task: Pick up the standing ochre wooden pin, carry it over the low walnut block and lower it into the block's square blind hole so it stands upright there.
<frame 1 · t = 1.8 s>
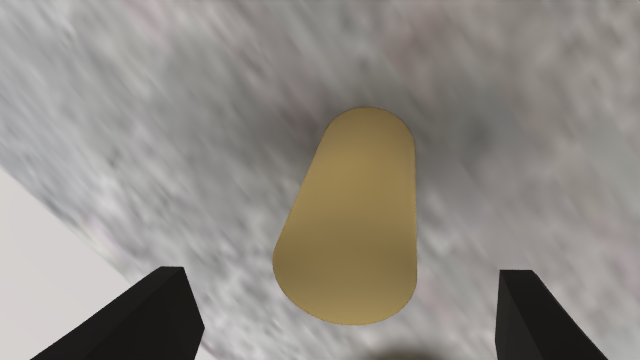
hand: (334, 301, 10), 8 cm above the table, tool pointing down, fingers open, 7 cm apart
pin: (367, 151, 17), on the table
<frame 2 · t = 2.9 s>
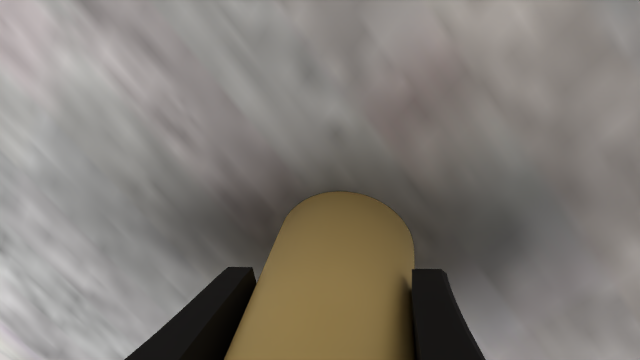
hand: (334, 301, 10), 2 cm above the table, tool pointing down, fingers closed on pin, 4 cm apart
pin: (345, 249, 12), on the table, touching gripper
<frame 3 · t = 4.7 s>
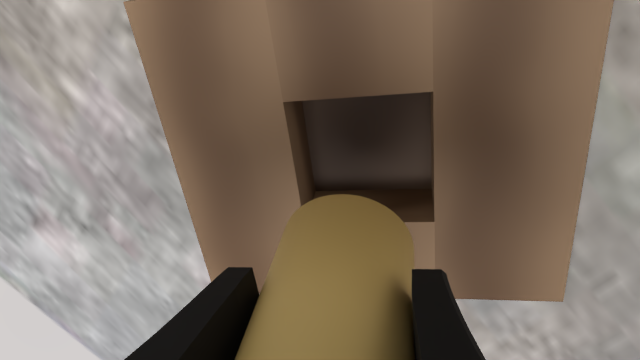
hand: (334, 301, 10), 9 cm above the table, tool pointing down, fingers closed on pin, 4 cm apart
pin: (347, 249, 12), point 7 cm above the table, touching gripper
bore block: (368, 132, 18), on the table
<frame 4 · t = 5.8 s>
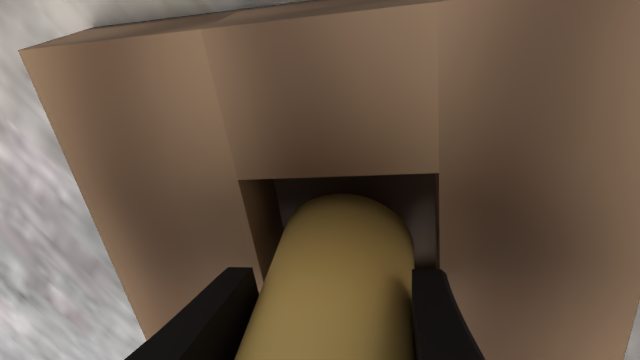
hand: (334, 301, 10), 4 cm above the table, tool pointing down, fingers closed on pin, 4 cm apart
pin: (347, 248, 12), point 2 cm above the table, touching gripper
bore block: (355, 201, 14), on the table
when the fingers open (3 cm above the table, at t = 6.5 s): pin stays where it is, resting on bore block.
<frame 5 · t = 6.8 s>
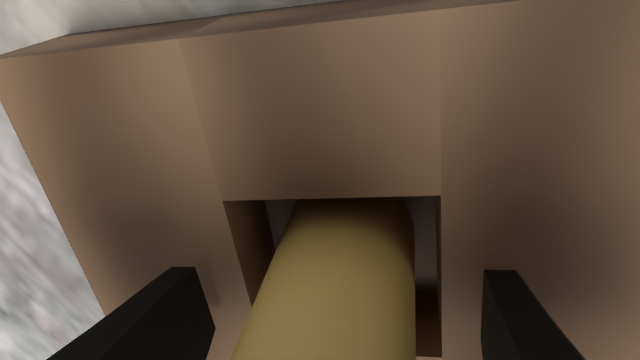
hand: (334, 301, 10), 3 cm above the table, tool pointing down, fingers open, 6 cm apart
pin: (350, 232, 13), resting on bore block
bore block: (351, 218, 13), on the table
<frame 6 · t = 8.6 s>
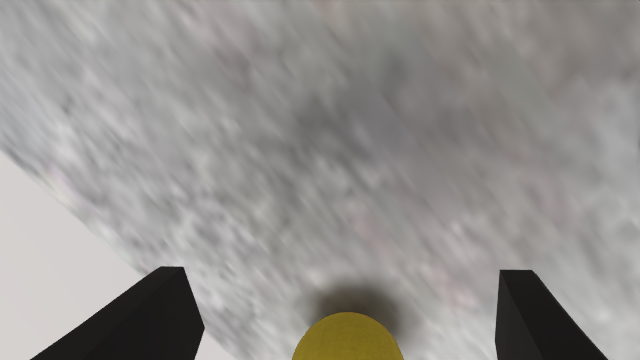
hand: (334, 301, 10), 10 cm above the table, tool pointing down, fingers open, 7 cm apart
lemon: (356, 315, 24), on the table
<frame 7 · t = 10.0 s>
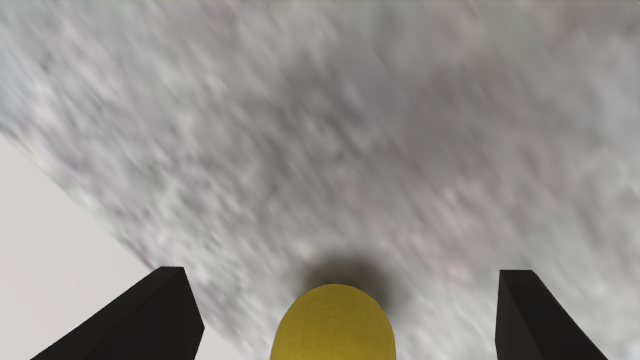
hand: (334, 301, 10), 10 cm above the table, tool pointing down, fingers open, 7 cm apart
lemon: (345, 290, 23), on the table
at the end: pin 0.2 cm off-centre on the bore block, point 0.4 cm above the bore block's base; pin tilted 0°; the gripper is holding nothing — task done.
